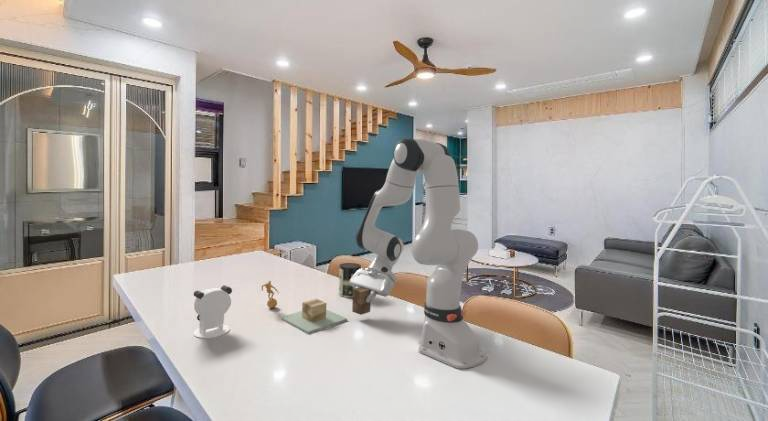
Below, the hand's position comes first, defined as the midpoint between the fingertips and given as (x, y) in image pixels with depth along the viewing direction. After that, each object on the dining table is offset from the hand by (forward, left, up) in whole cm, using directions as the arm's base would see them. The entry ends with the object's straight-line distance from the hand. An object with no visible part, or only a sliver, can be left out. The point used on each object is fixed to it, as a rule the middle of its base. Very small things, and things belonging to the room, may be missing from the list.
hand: (360, 299), depth 138 cm
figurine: (+29, +25, -8) cm, 39 cm away
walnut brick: (0, -1, -5) cm, 5 cm away
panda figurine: (+18, +49, -8) cm, 53 cm away
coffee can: (+29, -13, -8) cm, 32 cm away
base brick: (+9, +15, -7) cm, 19 cm away
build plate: (+9, +15, -8) cm, 19 cm away
